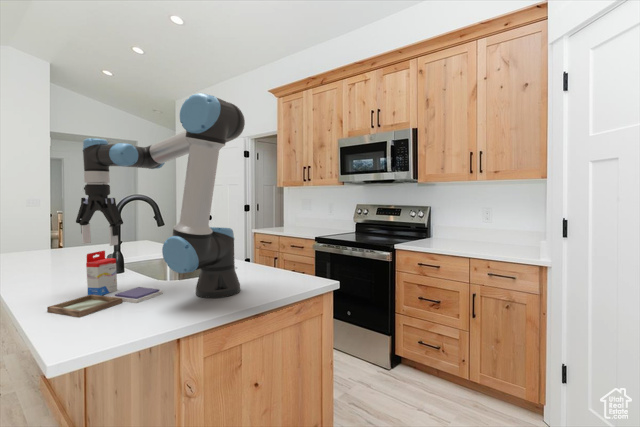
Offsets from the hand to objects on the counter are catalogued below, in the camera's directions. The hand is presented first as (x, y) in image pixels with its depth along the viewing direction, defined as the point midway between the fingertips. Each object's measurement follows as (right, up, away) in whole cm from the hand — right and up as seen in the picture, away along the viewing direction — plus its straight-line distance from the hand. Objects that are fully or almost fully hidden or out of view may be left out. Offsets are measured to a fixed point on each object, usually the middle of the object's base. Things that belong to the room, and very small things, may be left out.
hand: (99, 244), depth 128 cm
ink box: (0, -18, +1) cm, 18 cm away
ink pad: (+16, -18, -4) cm, 24 cm away
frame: (+5, -18, -15) cm, 24 cm away
